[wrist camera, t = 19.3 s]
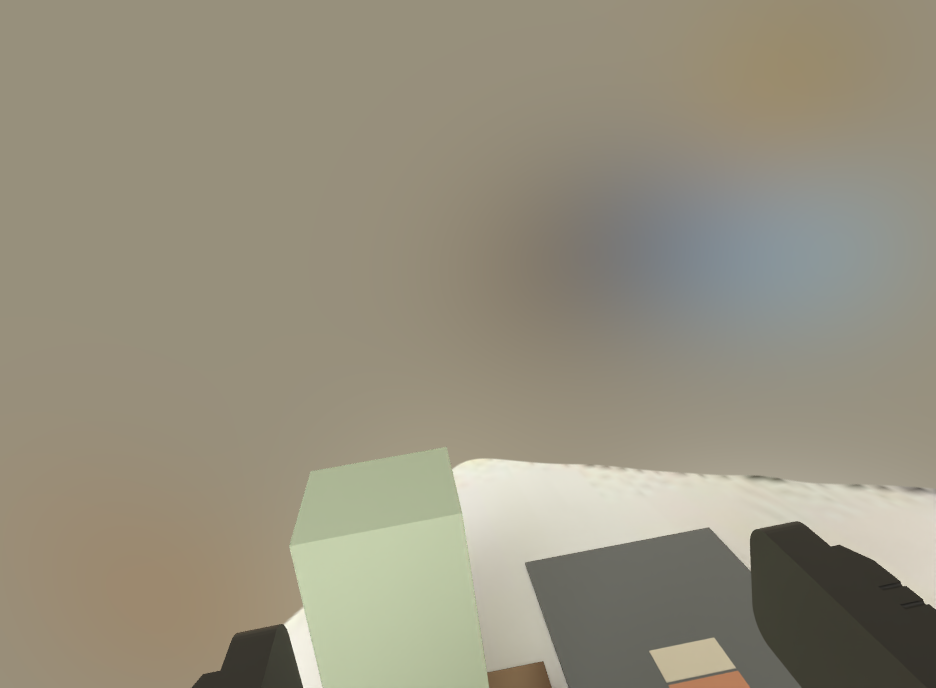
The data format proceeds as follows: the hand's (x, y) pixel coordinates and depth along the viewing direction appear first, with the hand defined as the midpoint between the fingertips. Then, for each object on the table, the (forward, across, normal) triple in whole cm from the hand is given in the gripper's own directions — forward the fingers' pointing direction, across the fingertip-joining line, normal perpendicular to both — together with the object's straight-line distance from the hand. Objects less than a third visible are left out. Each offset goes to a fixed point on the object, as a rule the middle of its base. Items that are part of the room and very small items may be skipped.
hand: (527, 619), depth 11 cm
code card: (+19, -10, +18) cm, 28 cm away
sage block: (+12, +4, +17) cm, 21 cm away
